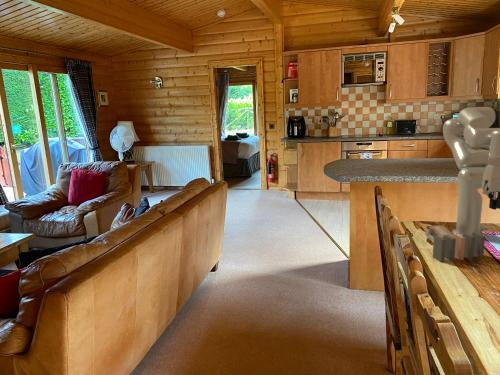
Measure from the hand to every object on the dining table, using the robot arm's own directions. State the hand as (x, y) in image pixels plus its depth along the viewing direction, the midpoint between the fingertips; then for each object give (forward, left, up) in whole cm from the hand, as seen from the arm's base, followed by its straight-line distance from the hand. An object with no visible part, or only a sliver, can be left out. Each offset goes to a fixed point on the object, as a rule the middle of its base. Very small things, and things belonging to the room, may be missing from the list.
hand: (495, 208), depth 151 cm
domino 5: (+7, 0, -19) cm, 20 cm away
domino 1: (+23, 0, -19) cm, 30 cm away
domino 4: (+11, 0, -19) cm, 22 cm away
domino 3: (+15, 0, -19) cm, 24 cm away
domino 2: (+19, 0, -19) cm, 27 cm away
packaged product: (+8, -20, -20) cm, 29 cm away
